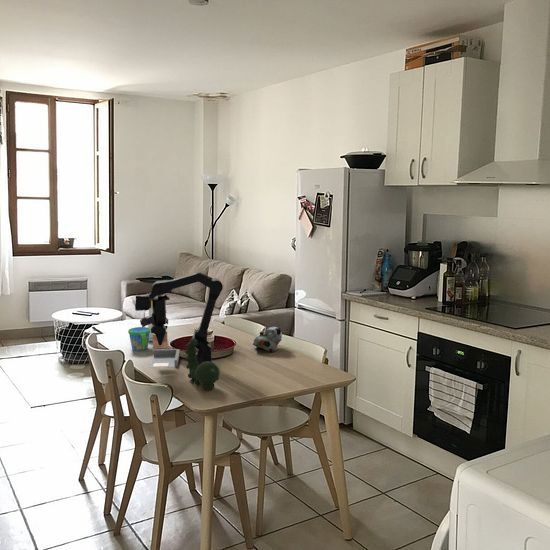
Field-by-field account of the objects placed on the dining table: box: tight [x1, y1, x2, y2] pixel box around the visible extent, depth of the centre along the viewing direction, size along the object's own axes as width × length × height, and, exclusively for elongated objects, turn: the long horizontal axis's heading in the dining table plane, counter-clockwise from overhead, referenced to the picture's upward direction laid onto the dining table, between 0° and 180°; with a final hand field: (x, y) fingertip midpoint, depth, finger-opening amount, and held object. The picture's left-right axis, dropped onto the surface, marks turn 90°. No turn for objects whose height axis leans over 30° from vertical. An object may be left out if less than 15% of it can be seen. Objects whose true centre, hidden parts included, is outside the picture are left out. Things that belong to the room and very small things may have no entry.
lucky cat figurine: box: [252, 326, 283, 353], centre depth 303 cm, size 15×12×14 cm
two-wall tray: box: [149, 348, 180, 369], centre depth 283 cm, size 12×18×3 cm, turn 6°
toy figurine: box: [184, 338, 220, 390], centre depth 251 cm, size 9×19×25 cm
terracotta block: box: [152, 331, 169, 349], centre depth 276 cm, size 4×6×6 cm, turn 96°
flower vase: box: [131, 292, 169, 342], centre depth 319 cm, size 13×18×25 cm
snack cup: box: [127, 326, 151, 352], centre depth 303 cm, size 16×10×10 cm
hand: (160, 343), depth 276 cm, fingers closed on terracotta block, 4 cm apart
